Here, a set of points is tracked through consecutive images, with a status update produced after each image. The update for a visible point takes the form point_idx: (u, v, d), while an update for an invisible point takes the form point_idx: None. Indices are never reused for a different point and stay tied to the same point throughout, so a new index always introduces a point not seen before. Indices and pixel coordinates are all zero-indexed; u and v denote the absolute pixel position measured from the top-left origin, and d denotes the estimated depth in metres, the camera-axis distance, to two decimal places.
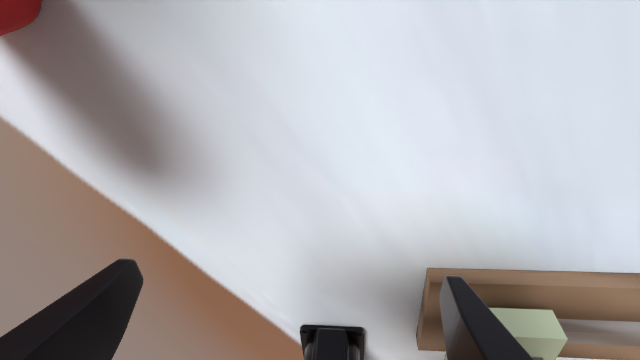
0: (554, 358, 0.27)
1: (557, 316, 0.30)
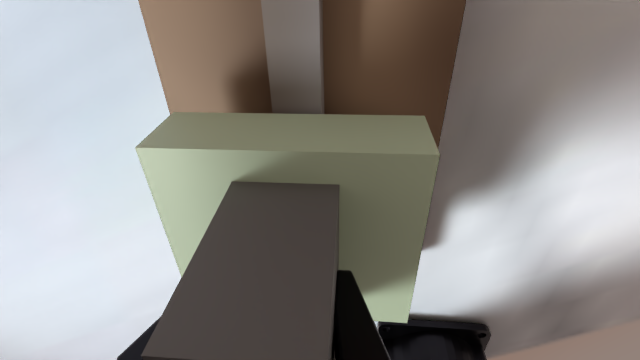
0: (237, 147, 0.09)
1: (264, 39, 0.11)
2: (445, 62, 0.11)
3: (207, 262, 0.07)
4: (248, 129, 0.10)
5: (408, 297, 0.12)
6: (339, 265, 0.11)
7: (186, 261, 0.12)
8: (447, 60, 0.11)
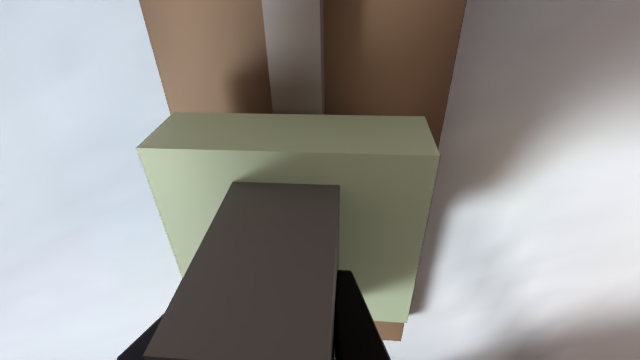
0: (238, 148, 0.09)
1: None
2: None
3: (208, 263, 0.07)
4: (249, 129, 0.10)
5: (408, 297, 0.12)
6: (339, 265, 0.11)
7: (186, 261, 0.12)
8: None
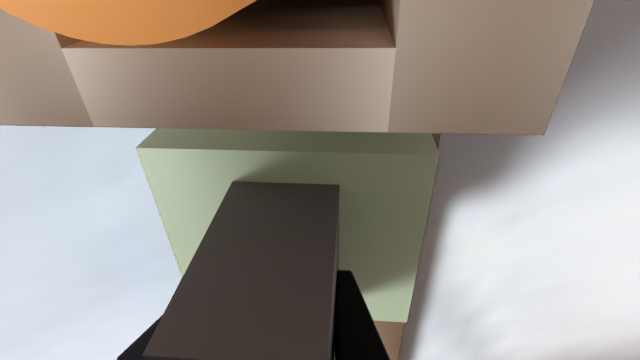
0: (237, 148, 0.09)
1: None
2: None
3: (208, 261, 0.07)
4: None
5: (408, 297, 0.12)
6: (339, 265, 0.11)
7: (186, 261, 0.12)
8: None
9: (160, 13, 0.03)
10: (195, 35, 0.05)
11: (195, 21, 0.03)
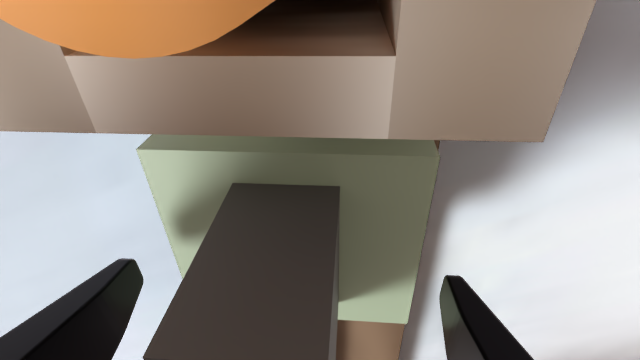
0: (238, 149, 0.09)
1: None
2: None
3: (208, 264, 0.07)
4: None
5: (408, 298, 0.12)
6: (339, 266, 0.11)
7: (187, 262, 0.12)
8: None
9: (164, 27, 0.03)
10: None
11: (198, 35, 0.03)
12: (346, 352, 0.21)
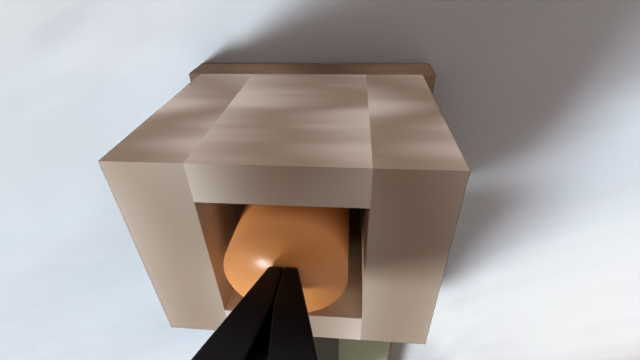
0: None
1: None
2: None
3: None
4: None
5: None
6: (339, 351, 0.18)
7: None
8: None
9: None
10: None
11: None
12: None
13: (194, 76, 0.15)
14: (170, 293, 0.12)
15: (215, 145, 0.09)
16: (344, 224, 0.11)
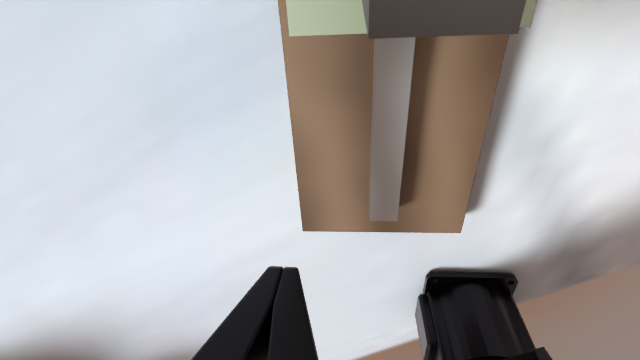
0: None
1: (367, 59, 0.16)
2: (493, 71, 0.16)
3: None
4: None
5: None
6: None
7: None
8: (495, 70, 0.16)
9: None
10: None
11: None
12: (417, 181, 0.20)
13: None
14: None
15: None
16: None
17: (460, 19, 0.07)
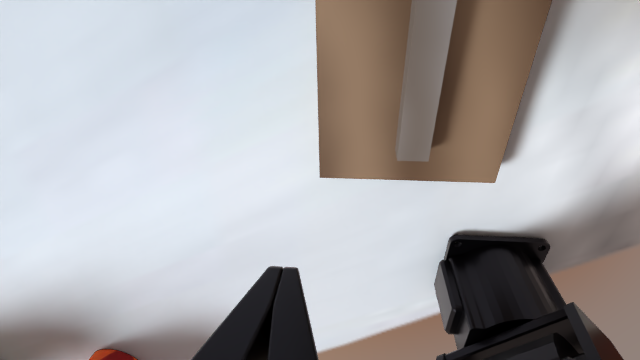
0: None
1: None
2: None
3: None
4: None
5: None
6: None
7: None
8: None
9: None
10: None
11: None
12: (452, 116, 0.18)
13: None
14: None
15: None
16: None
17: None
